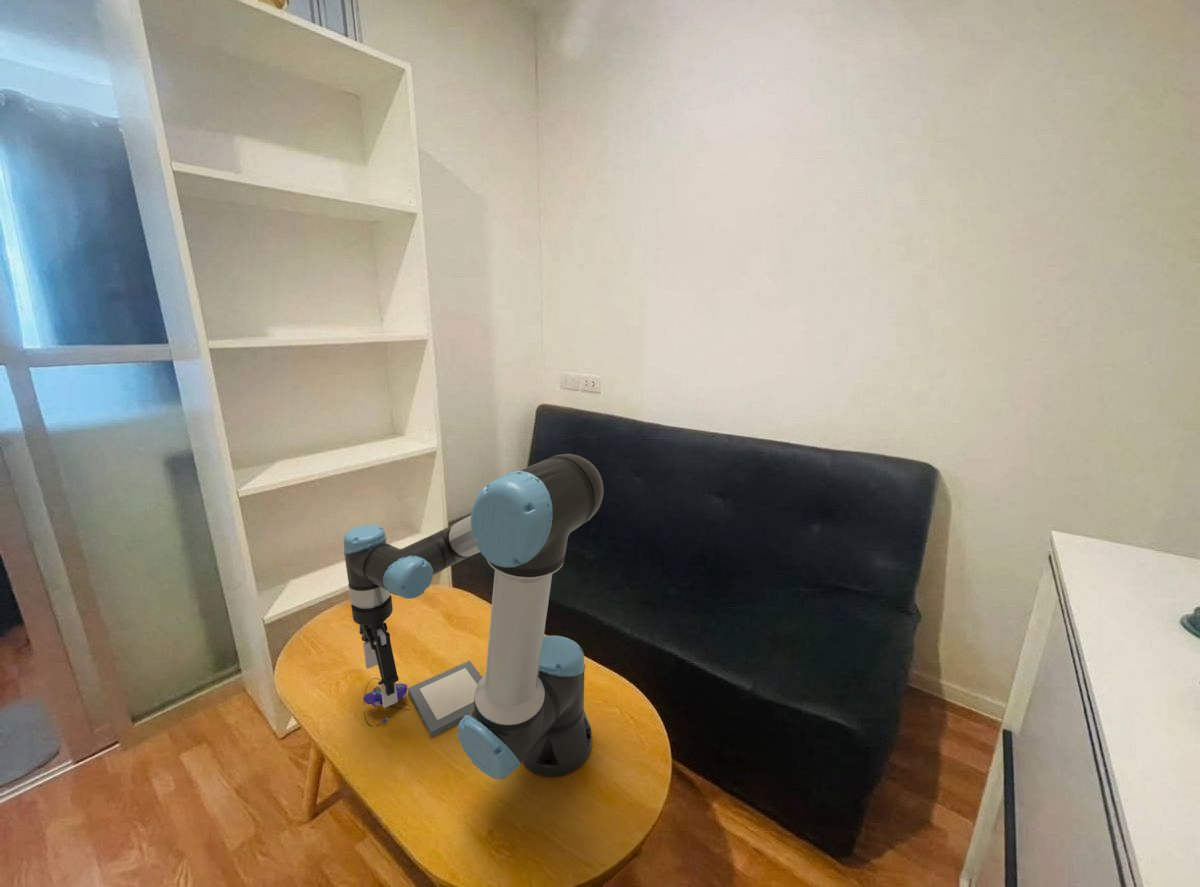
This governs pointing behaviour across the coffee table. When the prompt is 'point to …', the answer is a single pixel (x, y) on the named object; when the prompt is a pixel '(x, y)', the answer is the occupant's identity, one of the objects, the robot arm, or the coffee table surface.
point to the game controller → (376, 696)
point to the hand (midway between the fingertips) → (381, 684)
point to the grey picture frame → (446, 697)
